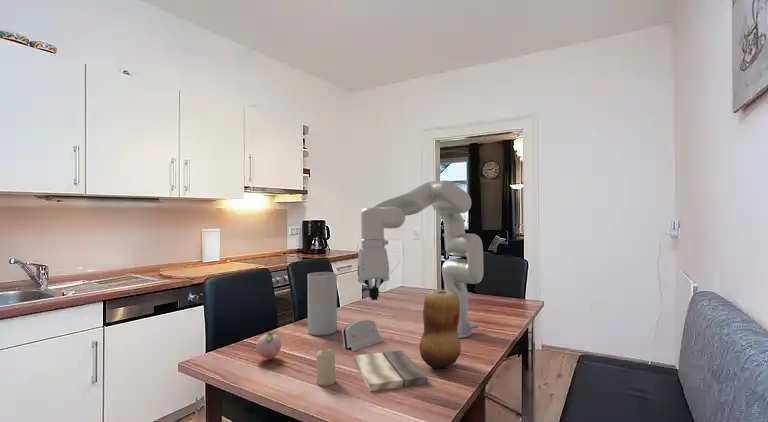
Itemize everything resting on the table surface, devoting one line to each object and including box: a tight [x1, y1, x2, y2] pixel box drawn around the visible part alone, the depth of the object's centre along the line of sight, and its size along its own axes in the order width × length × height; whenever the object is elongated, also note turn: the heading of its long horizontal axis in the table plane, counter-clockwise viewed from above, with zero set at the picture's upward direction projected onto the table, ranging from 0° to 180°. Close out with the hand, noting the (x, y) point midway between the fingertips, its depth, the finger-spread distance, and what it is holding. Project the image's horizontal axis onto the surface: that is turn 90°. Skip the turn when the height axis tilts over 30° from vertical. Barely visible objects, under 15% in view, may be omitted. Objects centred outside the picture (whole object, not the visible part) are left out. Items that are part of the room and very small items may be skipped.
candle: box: [316, 346, 336, 387], centre depth 118 cm, size 6×6×10 cm
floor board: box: [382, 349, 428, 387], centre depth 127 cm, size 7×24×2 cm, turn 16°
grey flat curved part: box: [341, 319, 383, 352], centre depth 153 cm, size 17×5×10 cm, turn 137°
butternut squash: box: [418, 289, 462, 369], centre depth 129 cm, size 14×13×25 cm
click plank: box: [352, 352, 404, 392], centre depth 124 cm, size 10×24×2 cm, turn 16°
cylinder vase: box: [307, 271, 338, 337], centre depth 170 cm, size 12×12×25 cm
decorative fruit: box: [255, 330, 282, 361], centre depth 137 cm, size 9×8×10 cm
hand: (373, 299), depth 130 cm, fingers closed
